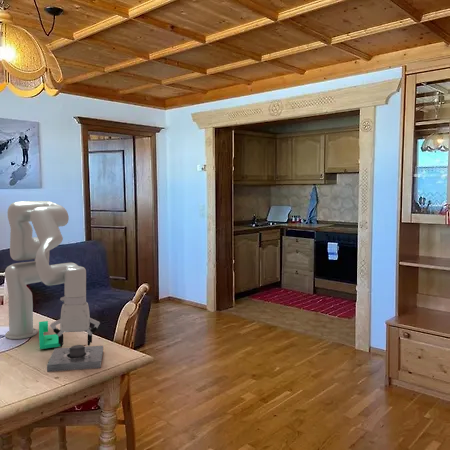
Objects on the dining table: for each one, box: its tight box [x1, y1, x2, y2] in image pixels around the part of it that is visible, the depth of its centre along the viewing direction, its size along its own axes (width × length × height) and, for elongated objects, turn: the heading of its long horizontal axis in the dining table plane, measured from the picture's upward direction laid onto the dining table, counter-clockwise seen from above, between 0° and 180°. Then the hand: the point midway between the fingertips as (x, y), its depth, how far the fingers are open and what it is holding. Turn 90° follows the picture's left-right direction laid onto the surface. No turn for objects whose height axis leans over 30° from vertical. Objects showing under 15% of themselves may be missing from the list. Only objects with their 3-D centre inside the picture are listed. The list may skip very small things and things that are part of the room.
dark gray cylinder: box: [69, 344, 86, 358], centre depth 165 cm, size 5×5×5 cm
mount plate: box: [46, 345, 104, 373], centre depth 164 cm, size 16×18×2 cm
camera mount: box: [38, 320, 60, 350], centre depth 180 cm, size 12×8×10 cm, turn 24°
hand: (75, 344), depth 164 cm, fingers open, 9 cm apart
